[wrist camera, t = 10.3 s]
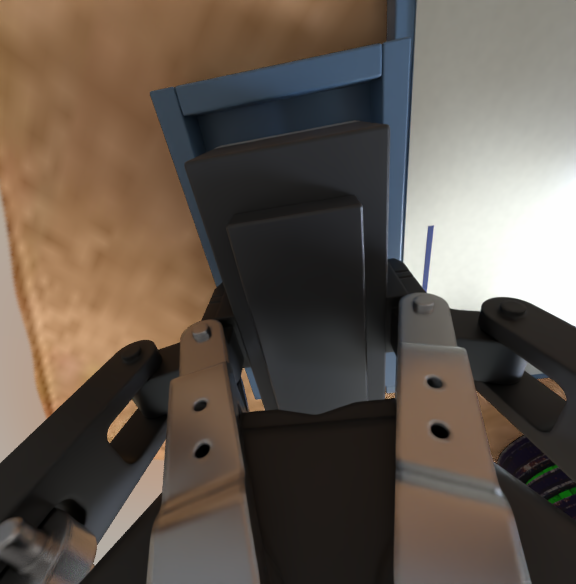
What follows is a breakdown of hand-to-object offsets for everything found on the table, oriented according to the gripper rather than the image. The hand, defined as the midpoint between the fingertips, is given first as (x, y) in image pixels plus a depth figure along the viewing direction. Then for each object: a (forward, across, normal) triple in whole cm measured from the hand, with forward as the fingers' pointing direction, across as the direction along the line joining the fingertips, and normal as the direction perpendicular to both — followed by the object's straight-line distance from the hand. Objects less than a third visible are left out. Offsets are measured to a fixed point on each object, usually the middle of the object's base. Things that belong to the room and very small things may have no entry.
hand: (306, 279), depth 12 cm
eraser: (0, 0, 0) cm, 0 cm away
